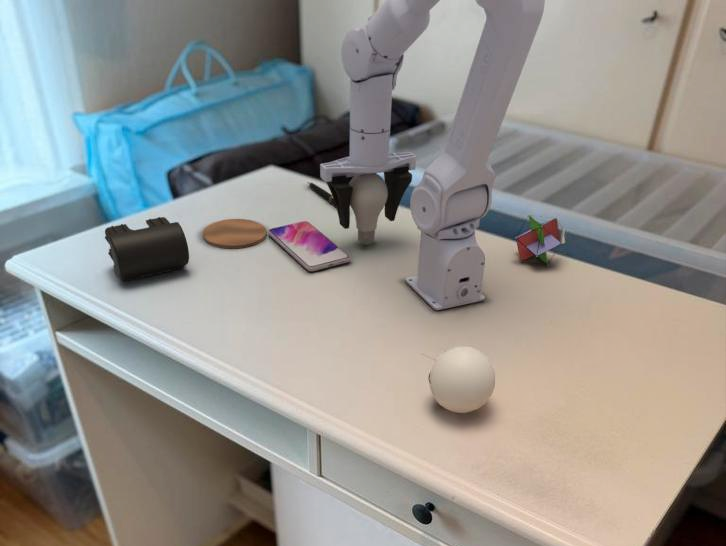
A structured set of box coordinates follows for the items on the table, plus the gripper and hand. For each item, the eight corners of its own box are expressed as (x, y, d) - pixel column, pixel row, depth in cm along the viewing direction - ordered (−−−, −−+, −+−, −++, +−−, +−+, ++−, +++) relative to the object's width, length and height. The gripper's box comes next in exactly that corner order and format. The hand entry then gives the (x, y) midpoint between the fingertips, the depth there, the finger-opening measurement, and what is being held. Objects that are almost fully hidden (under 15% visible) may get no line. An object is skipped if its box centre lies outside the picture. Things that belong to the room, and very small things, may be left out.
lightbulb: (368, 233, 116) (370, 162, 108) (393, 246, 112) (397, 174, 105) (338, 242, 113) (338, 170, 105) (363, 256, 109) (365, 183, 102)
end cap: (124, 290, 100) (114, 244, 95) (109, 269, 104) (99, 224, 100) (192, 275, 104) (186, 229, 99) (176, 255, 108) (169, 211, 103)
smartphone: (309, 268, 104) (266, 229, 114) (309, 273, 105) (266, 234, 114) (352, 257, 107) (307, 219, 116) (352, 262, 107) (307, 225, 117)
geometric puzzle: (516, 260, 105) (554, 214, 102) (495, 241, 110) (531, 196, 106) (545, 283, 109) (582, 239, 106) (523, 263, 114) (559, 220, 111)
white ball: (504, 413, 81) (515, 358, 76) (451, 434, 78) (459, 378, 73) (451, 370, 87) (458, 316, 82) (401, 387, 84) (405, 332, 79)
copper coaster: (275, 242, 112) (275, 239, 112) (212, 252, 109) (212, 249, 109) (255, 218, 119) (254, 215, 119) (195, 227, 116) (195, 224, 115)
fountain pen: (304, 186, 130) (303, 177, 129) (309, 184, 130) (309, 176, 129) (344, 214, 121) (344, 205, 120) (350, 213, 121) (350, 204, 120)
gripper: (403, 114, 106) (397, 205, 115) (311, 124, 101) (313, 219, 110) (425, 128, 101) (418, 222, 110) (330, 140, 96) (331, 237, 106)
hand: (367, 222), depth 110 cm, fingers open, 7 cm apart
